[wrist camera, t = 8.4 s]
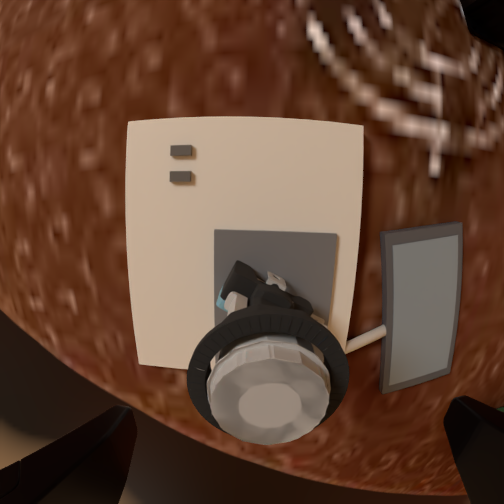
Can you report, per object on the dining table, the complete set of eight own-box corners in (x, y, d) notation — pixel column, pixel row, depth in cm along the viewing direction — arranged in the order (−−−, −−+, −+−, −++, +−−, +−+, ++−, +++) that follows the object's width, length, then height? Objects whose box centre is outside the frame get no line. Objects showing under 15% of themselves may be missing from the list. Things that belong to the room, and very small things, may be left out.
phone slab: (455, 221, 18) (462, 223, 17) (445, 368, 21) (449, 373, 20) (379, 232, 19) (385, 234, 18) (378, 388, 21) (382, 394, 20)
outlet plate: (358, 128, 17) (365, 124, 16) (337, 364, 21) (341, 374, 19) (134, 124, 17) (126, 120, 16) (143, 356, 21) (137, 366, 19)
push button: (342, 286, 18) (418, 381, 8) (297, 356, 19) (325, 479, 9) (243, 234, 17) (229, 294, 8) (202, 311, 18) (157, 425, 9)
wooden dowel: (408, 308, 20) (413, 312, 19) (411, 319, 20) (415, 323, 19) (235, 379, 21) (234, 386, 20) (241, 389, 21) (240, 396, 20)
